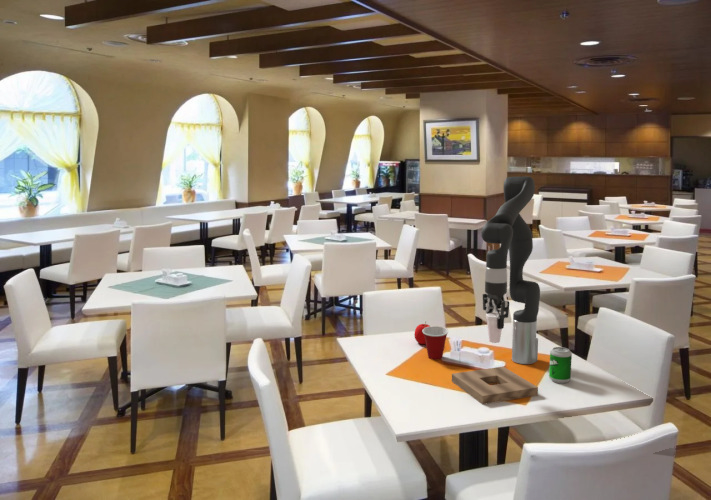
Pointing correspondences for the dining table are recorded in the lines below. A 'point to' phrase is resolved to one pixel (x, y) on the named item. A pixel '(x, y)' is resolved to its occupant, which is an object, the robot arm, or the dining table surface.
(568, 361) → the soda can
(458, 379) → the socket board
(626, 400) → the dining table surface
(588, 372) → the dining table surface
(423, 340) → the fruit
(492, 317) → the smoothie
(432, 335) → the plastic cup
